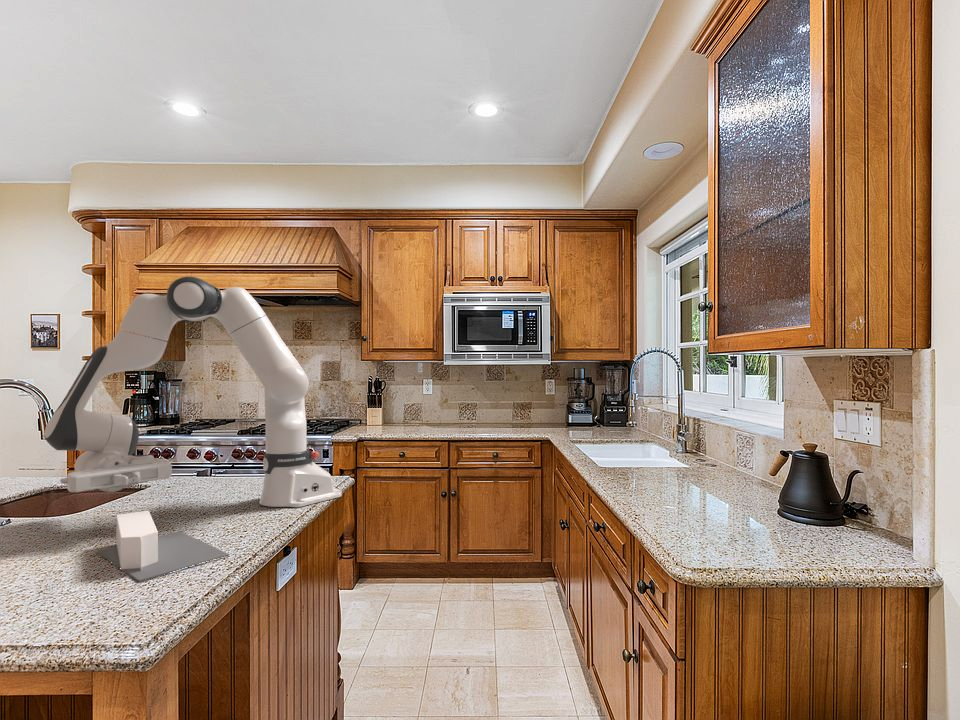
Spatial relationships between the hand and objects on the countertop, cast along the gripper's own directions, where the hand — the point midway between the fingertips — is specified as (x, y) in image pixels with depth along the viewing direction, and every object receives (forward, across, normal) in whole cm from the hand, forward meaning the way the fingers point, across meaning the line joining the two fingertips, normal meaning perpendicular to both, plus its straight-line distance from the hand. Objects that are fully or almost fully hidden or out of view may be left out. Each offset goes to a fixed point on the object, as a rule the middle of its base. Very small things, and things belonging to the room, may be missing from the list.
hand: (133, 480), depth 116 cm
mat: (+16, 0, +13) cm, 21 cm away
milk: (+2, -1, +10) cm, 10 cm away
